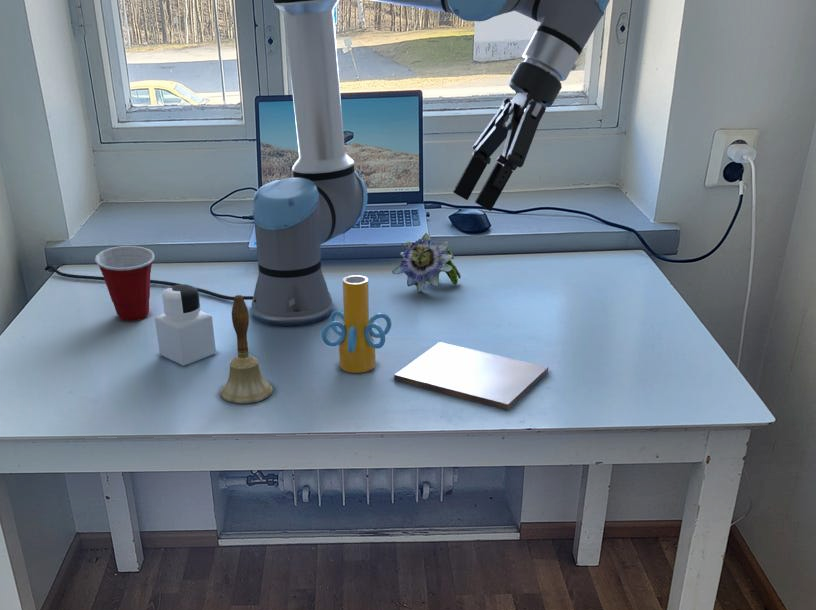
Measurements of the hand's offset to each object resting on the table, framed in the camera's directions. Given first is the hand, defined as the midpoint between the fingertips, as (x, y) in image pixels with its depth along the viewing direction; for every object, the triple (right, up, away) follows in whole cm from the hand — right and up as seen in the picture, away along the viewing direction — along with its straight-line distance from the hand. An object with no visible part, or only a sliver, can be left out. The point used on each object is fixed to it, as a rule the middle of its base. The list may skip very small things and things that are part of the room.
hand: (470, 201), depth 145 cm
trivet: (+1, -27, +3) cm, 28 cm away
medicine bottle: (-47, -23, +14) cm, 54 cm away
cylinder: (-18, -25, +8) cm, 32 cm away
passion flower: (-3, -5, +39) cm, 39 cm away
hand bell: (-36, -30, +1) cm, 47 cm away
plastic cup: (-60, -13, +30) cm, 68 cm away
